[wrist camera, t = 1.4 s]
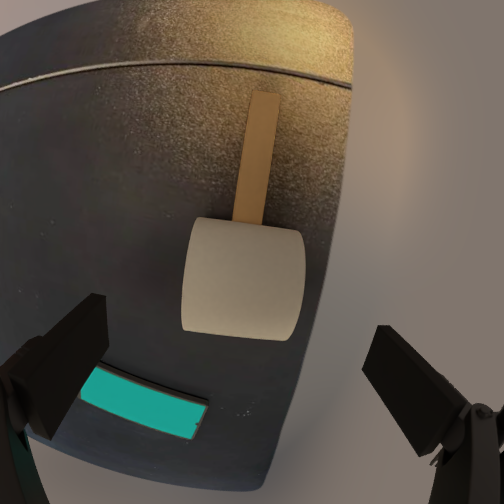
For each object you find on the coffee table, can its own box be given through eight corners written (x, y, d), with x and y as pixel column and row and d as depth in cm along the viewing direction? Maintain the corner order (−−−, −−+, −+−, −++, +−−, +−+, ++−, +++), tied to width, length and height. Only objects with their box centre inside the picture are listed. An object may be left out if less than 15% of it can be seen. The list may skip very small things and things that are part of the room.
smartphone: (77, 356, 24) (209, 405, 26) (80, 352, 25) (209, 400, 27) (77, 398, 26) (192, 441, 28) (80, 394, 26) (193, 436, 29)
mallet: (221, 93, 20) (217, 52, 13) (305, 107, 21) (338, 75, 13) (193, 302, 24) (179, 352, 17) (271, 311, 25) (287, 363, 17)
